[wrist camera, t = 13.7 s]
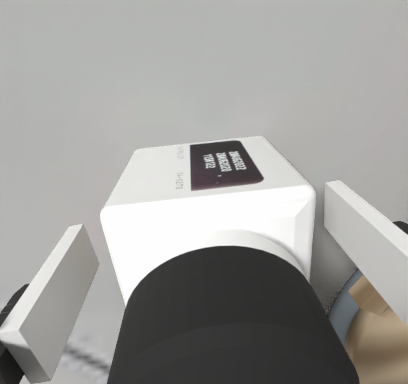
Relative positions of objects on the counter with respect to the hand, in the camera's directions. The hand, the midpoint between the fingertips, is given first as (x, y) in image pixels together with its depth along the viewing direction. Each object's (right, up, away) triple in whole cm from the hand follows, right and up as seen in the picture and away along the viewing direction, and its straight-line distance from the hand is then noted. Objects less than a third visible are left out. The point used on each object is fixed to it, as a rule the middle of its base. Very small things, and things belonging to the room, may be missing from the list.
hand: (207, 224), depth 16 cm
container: (0, +1, +3) cm, 3 cm away
